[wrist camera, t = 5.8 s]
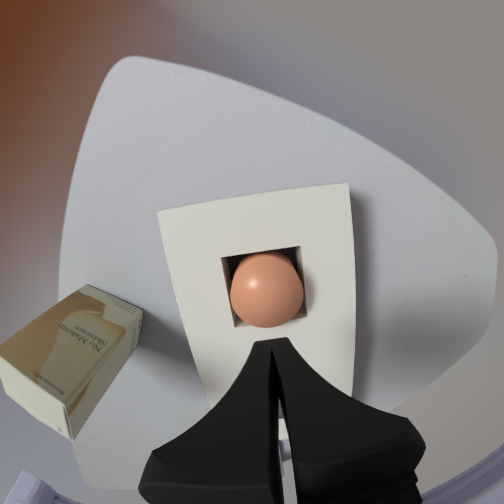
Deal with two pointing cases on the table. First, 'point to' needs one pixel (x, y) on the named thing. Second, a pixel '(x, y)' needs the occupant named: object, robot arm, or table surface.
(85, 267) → the table surface
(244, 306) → the terracotta button
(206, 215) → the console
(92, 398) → the skincare box
